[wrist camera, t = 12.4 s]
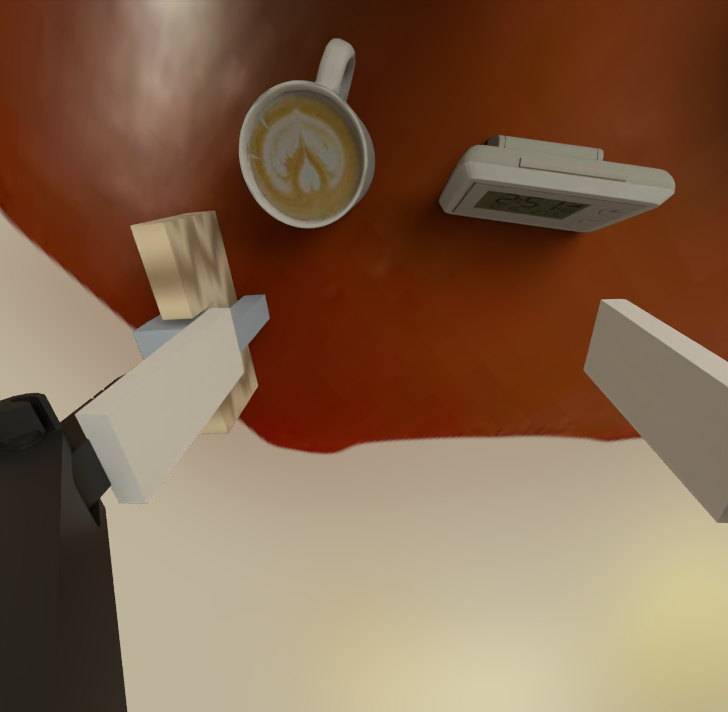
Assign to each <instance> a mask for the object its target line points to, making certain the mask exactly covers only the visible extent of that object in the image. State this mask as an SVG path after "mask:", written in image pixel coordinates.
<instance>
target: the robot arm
mask: <svg viewBox="0 0 728 712" xmlns="http://www.w3.org/2000/svg"><path fill="white" fill-rule="evenodd" d="M584 371H585V373H586V374H587V375H588V376H589V377H590V378H591V379H592V381H593V382H594V383H595V384H596V385H597V386H598V387H599V388H600V390H601V391H602V392H603V393H604V394H605V395H606V396H607V398H608V399H609V400H610V401H611V402H612V403H613V404H614V406H615V407H616V408H617V409H618V410H619V411H620V412H621V414H622V415H623V416H624V417H625V418H626V419H627V420H628V422H629V423H630V424H631V425H632V426H633V427H634V428H635V429H636V431H637V432H638V433H639V434H640V435H641V436H642V437H643V439H644V440H645V441H646V442H647V443H648V444H649V445H650V447H651V448H652V449H653V450H654V451H655V452H656V453H657V454H658V456H659V457H660V458H661V459H662V460H663V461H664V463H665V464H666V465H667V466H668V467H669V468H670V469H671V470H672V472H673V473H674V474H675V475H676V476H677V477H678V478H679V480H680V481H681V482H682V483H683V484H684V485H685V486H686V487H687V489H688V490H689V491H690V492H691V493H692V494H693V496H695V498H696V499H697V500H698V501H699V502H700V503H701V505H702V506H703V507H704V508H705V509H706V510H707V511H708V512H709V514H710V515H711V516H712V517H713V518H714V519H715V521H716V522H718V523H728V362H727V361H725V360H724V359H722V358H720V357H719V356H717V355H715V354H714V353H712V352H710V351H709V350H707V349H706V348H704V347H702V346H701V345H699V344H697V343H696V342H694V341H693V340H691V339H689V338H688V337H686V336H684V335H683V334H681V333H680V332H678V331H676V330H675V329H673V328H671V327H670V326H668V325H667V324H665V323H663V322H662V321H660V320H658V319H657V318H655V317H654V316H652V315H650V314H649V313H647V312H645V311H644V310H642V309H640V308H639V307H637V306H636V305H634V304H632V303H631V302H629V301H627V300H626V299H605V300H601V302H600V306H599V310H598V314H597V318H596V322H595V326H594V330H593V334H592V338H591V342H590V346H589V350H588V354H587V358H586V362H585V366H584ZM243 373H244V368H243V363H242V359H241V355H240V350H239V346H238V342H237V337H236V333H235V329H234V324H233V320H232V316H231V311H230V308H210V309H209V310H207V311H206V312H205V313H203V314H202V315H201V316H200V317H198V318H197V319H196V320H194V321H193V322H192V323H191V324H189V325H188V326H187V327H186V328H184V329H183V330H182V331H180V332H179V333H178V334H177V335H175V336H174V337H173V338H172V339H170V340H169V341H168V342H166V343H165V344H164V345H163V346H161V347H160V348H159V349H157V350H156V351H155V352H154V353H152V354H151V355H150V356H149V357H147V358H146V359H145V360H144V361H142V362H141V363H140V364H138V365H137V366H136V367H134V368H133V369H132V370H131V371H129V372H128V373H127V374H125V375H123V376H121V377H119V378H117V379H116V380H114V381H113V382H112V383H110V384H109V385H108V386H107V387H105V388H104V390H101V391H100V392H99V393H97V394H96V395H95V396H94V399H90V400H88V401H87V402H86V403H85V404H83V405H82V406H81V407H79V408H78V409H77V410H76V411H74V412H73V413H72V414H70V415H69V416H68V417H67V418H65V419H64V420H63V421H61V422H59V420H58V418H57V416H56V415H55V413H54V411H53V409H52V407H51V405H50V403H49V401H48V400H47V398H46V396H45V395H44V394H40V393H28V394H23V395H17V396H13V397H10V398H7V399H4V400H1V401H0V712H127V706H126V696H125V687H124V677H123V668H122V658H121V649H120V640H119V630H118V622H117V612H116V603H115V594H114V585H113V575H112V565H111V556H110V547H109V538H108V528H107V519H106V510H105V507H104V505H103V503H102V501H101V499H100V497H101V496H102V495H103V494H104V493H105V492H106V491H107V489H108V488H109V487H110V486H111V487H112V490H113V492H114V494H115V496H116V498H117V499H118V502H119V503H128V504H129V503H130V504H148V503H149V502H150V500H151V499H152V498H153V496H154V495H155V493H156V492H157V491H158V489H159V488H160V487H161V485H162V484H163V483H164V481H165V480H166V478H167V477H168V476H169V474H170V473H171V472H172V470H173V469H174V467H175V466H176V465H177V463H178V462H179V461H180V459H181V458H182V457H183V455H184V454H185V452H186V451H187V450H188V448H189V447H190V446H191V444H192V443H193V441H194V440H195V439H196V437H197V436H198V435H199V433H200V432H201V431H202V429H203V428H204V426H205V425H206V424H207V422H208V421H209V420H210V418H211V417H212V415H213V414H214V413H215V411H216V410H217V409H218V407H219V406H220V405H221V403H222V402H223V400H224V399H225V398H226V396H227V395H228V394H229V392H230V391H231V390H232V388H233V387H234V385H235V384H236V383H237V381H238V380H239V379H240V377H241V376H242V374H243Z"/></svg>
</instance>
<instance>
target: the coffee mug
mask: <svg viewBox="0 0 728 712" xmlns="http://www.w3.org/2000/svg"><path fill="white" fill-rule="evenodd" d="M354 68H355V51H354V49H353V47H352V46H351V45H350V44H349V43H347V42H346V41H344V40H342V39H332V40H331V41H330V42H329V43H328V45H327V46H326V48H325V51H324V54H323V56H322V59H321V62H320V66H319V70H318V74H317V78H316V81H315V83H314V82H310V81H289V82H284V83H280V84H278V85H276V86H274V87H272V88H270V89H268V90H267V91H265V92H264V93H263V94H262V95H261V96H259V98H258V99H257V100H256V101H255V102H254V103H253V105H252V106H251V108H250V109H249V111H248V113H247V114H246V117H245V119H244V122H243V124H242V128H241V132H240V139H239V159H240V165H241V170H242V174H243V177H244V180H245V182H246V184H247V186H248V189H249V190H250V192H251V194H252V195H253V197H254V199H255V200H256V201H257V202H258V203H259V205H260V206H261V207H262V208H263V209H264V210H265V211H266V212H267V213H269V214H270V215H271V216H273V217H274V218H276V219H277V220H279V221H281V222H283V223H285V224H288V225H291V226H294V227H299V228H317V227H321V226H325V225H328V224H331V223H333V222H335V221H337V220H338V219H340V218H341V217H343V216H344V215H345V214H346V213H347V212H348V211H349V210H351V209H352V208H353V207H354V206H355V205H356V204H357V203H358V202H359V201H360V200H361V199H362V198H363V197H364V195H365V194H366V192H367V191H368V189H369V187H370V184H371V182H372V179H373V175H374V169H375V152H374V147H373V143H372V140H371V137H370V135H369V133H368V131H367V129H366V127H365V126H364V124H363V123H362V121H361V120H360V119H359V118H358V116H357V115H356V114H355V112H354V111H353V110H352V109H351V107H350V106H349V105H348V104H347V98H348V94H349V90H350V86H351V82H352V78H353V73H354Z"/></svg>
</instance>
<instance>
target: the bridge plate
mask: <svg viewBox="0 0 728 712" xmlns="http://www.w3.org/2000/svg"><path fill="white" fill-rule="evenodd" d="M230 311H231V316H232V320H233V324H234V329H235V333H236V337H237V342H238V346H239V350H240V353H241V352H242V351H243V350H244V348H245V347H246V346H247V345H248V344H249V343H250V341H251V340H252V339H253V338H254V337H255V335H256V334H257V333H258V332H259V331H260V329H261V328H262V327H263V326H264V325H265V323H266V322H267V321H268V320H269V319H270V317H269V312H268V307H267V302H266V298H265V294H264V295H247V296H243V297H242V298H241V299H240V300H239V301H238V302H236V303H235V304H234V305H233V306H232V307H230ZM205 312H206V311H202V312H200V313H199V314H198V315H196V316H195V317H194V318H189V319H170V320H163V319H162V316H161V314H160V315H159V316H157V317H155V318H154V319H152V320H151V321H149V322H147V323H146V324H144V325H142V326H141V327H139V328H138V329H136V330H134V331H133V334H134V336H135V339H136V342H137V344H138V347H139V349H140V352H141V355H142V357H143V359H146V358H147V357H149V356H150V355H151V354H152V353H154V352H155V351H156V350H157V349H159V348H160V347H161V346H163V345H164V344H165V343H166V342H168V341H169V340H170V339H172V338H173V337H174V336H175V335H177V334H178V333H179V332H180V331H182V330H183V329H184V328H186V327H187V326H188V325H189V324H191V323H192V322H193V321H194V320H196V319H197V318H198V317H200V316H201V315H202V314H203V313H205Z"/></svg>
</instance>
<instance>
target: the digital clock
mask: <svg viewBox="0 0 728 712" xmlns="http://www.w3.org/2000/svg"><path fill="white" fill-rule="evenodd" d="M674 192H675V182H674V180H673V178H672V177H671V175H670V174H669V173H668V172H666V171H664V170H661V169H655V168H649V167H642V166H635V165H628V164H621V163H614V162H606V161H603V150H602V149H598V148H590V147H582V146H575V145H568V144H560V143H553V142H546V141H538V140H531V139H524V138H516V137H509V136H502V135H497V136H494V137H491V138H489V140H488V143H487V145H475V146H473V147H471V148H470V149H469V150H467V151H466V152H465V154H464V155H463V156H462V157H461V159H460V160H459V162H458V164H457V166H456V167H455V169H454V171H453V173H452V175H451V176H450V178H449V180H448V182H447V184H446V186H445V187H444V189H443V191H442V193H441V195H440V198H439V203H440V205H441V207H442V209H443V210H444V212H446V213H449V214H455V215H461V216H468V217H475V218H482V219H490V220H497V221H504V222H511V223H518V224H525V225H533V226H540V227H547V228H554V229H561V230H569V231H577V232H592V231H595V230H598V229H601V228H603V227H606V226H609V225H611V224H614V223H617V222H620V221H622V220H625V219H628V218H630V217H633V216H636V215H638V214H641V213H644V212H646V211H649V210H651V209H654V208H656V207H658V206H659V205H661V204H662V203H663V202H664V201H666V200H667V199H668V198H669V197H670V196H672V195H673V194H674Z"/></svg>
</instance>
